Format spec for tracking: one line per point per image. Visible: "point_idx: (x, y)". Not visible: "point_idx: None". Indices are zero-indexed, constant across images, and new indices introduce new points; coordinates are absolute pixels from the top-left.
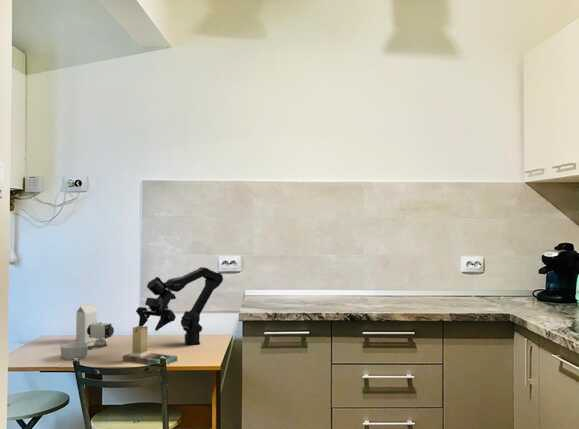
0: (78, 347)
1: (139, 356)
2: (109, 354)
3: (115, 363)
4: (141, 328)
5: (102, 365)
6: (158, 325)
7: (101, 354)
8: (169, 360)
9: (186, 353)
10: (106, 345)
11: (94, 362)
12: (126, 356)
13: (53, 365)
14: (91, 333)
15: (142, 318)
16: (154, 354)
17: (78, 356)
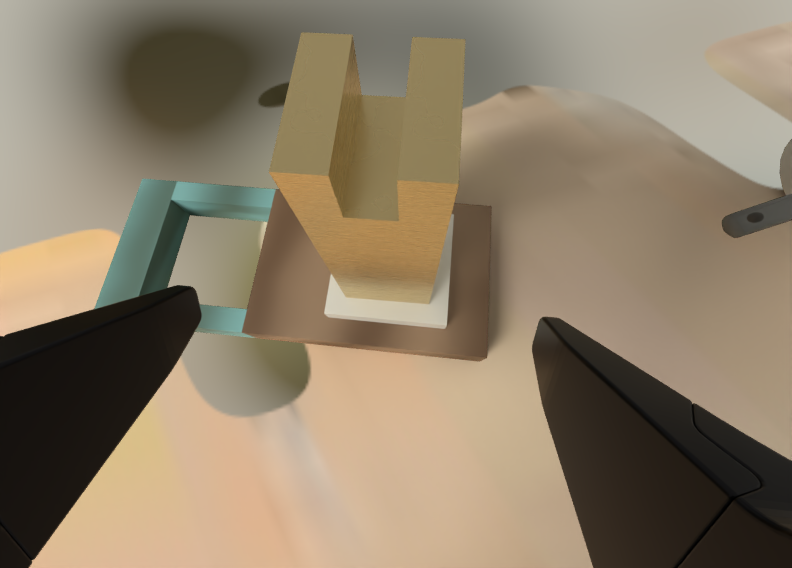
0: None
1: None
2: (699, 326)
3: (482, 161)
4: (299, 44)
5: (524, 112)
6: (85, 315)
7: (754, 308)
8: (130, 230)
9: (105, 557)
10: (729, 222)
11: (618, 143)
12: (457, 204)
13: (774, 43)
14: None
15: (697, 493)
16: (285, 304)
17: (790, 148)
